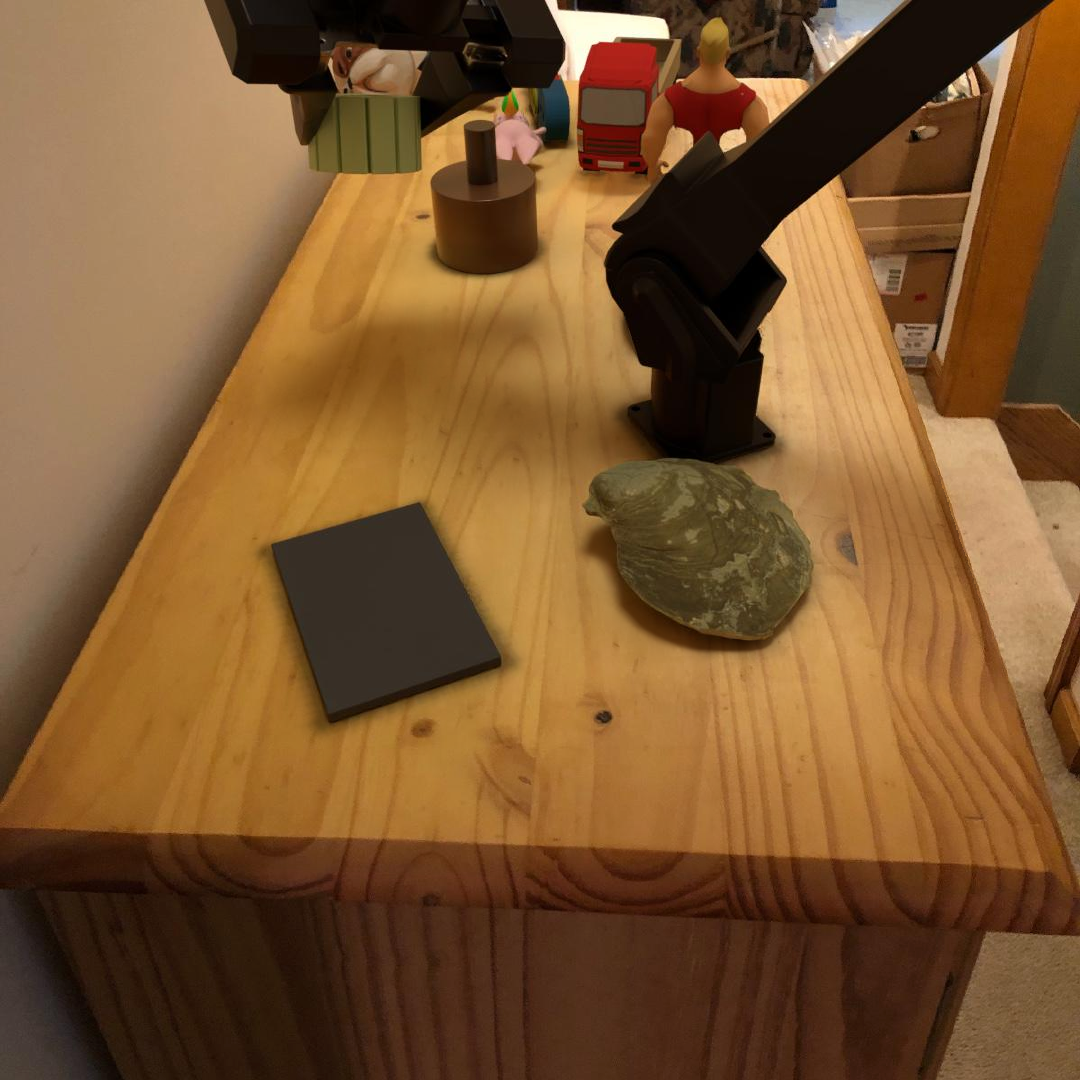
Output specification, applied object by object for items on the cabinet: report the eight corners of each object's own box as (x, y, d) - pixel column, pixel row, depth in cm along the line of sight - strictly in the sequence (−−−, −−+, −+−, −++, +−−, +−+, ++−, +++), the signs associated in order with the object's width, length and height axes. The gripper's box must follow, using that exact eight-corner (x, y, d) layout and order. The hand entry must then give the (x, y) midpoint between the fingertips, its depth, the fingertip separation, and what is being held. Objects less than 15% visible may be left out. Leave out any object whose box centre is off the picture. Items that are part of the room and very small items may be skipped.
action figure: (762, 221, 79) (787, 12, 69) (761, 242, 76) (788, 27, 66) (640, 216, 80) (648, 9, 70) (635, 236, 78) (643, 24, 68)
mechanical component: (523, 46, 101) (553, 46, 101) (523, 86, 103) (552, 86, 104) (541, 103, 88) (575, 102, 89) (540, 147, 91) (573, 147, 91)
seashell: (800, 643, 44) (664, 464, 42) (669, 701, 48) (540, 540, 46) (828, 532, 52) (715, 378, 51) (714, 589, 57) (606, 449, 55)
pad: (501, 665, 46) (501, 656, 46) (330, 722, 44) (328, 714, 44) (421, 509, 54) (419, 501, 54) (273, 552, 52) (270, 543, 52)
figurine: (471, 131, 93) (322, 131, 96) (524, 71, 106) (391, 73, 110) (458, 33, 87) (301, 37, 91) (516, -17, 101) (377, -12, 104)
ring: (437, 173, 59) (435, 97, 57) (329, 175, 56) (324, 96, 54) (398, 163, 64) (396, 94, 62) (297, 165, 61) (292, 92, 59)
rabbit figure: (476, 149, 95) (479, 188, 82) (471, 79, 91) (473, 109, 79) (543, 145, 95) (556, 184, 82) (541, 76, 92) (553, 105, 79)
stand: (553, 260, 75) (550, 133, 69) (457, 282, 73) (445, 153, 67) (515, 220, 81) (509, 99, 74) (424, 239, 79) (410, 116, 72)
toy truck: (571, 190, 84) (570, 62, 77) (614, 103, 99) (616, -10, 92) (653, 195, 83) (659, 66, 76) (685, 107, 98) (692, -8, 91)
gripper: (543, -195, 54) (446, 38, 67) (188, -261, 44) (155, 25, 57) (625, -34, 51) (508, 176, 64) (267, -68, 42) (214, 186, 55)
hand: (355, 138), depth 60 cm, fingers closed on ring, 6 cm apart
